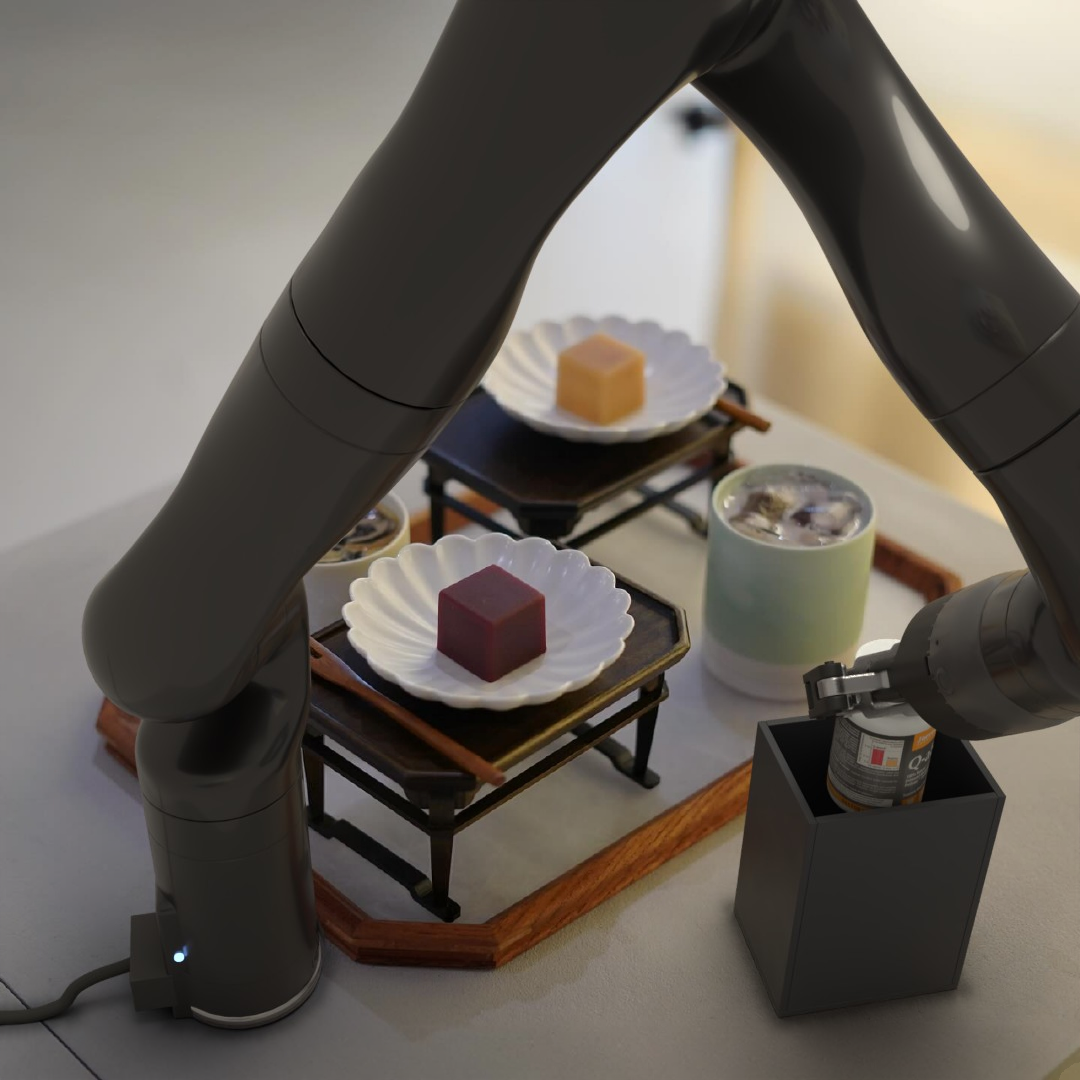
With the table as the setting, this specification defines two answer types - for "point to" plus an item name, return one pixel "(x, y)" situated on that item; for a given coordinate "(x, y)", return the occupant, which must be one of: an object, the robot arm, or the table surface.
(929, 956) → the waste bin
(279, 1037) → the table surface
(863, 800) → the pill bottle
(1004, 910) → the table surface
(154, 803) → the robot arm
